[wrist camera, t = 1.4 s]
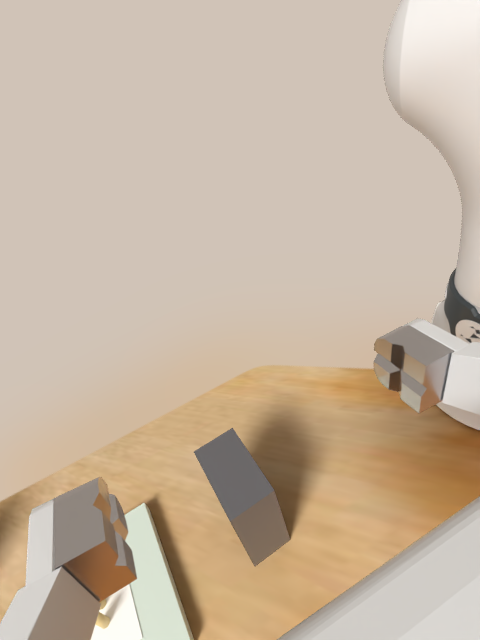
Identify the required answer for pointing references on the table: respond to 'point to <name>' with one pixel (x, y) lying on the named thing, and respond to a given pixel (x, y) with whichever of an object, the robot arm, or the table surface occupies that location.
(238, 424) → the table surface
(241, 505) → the block
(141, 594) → the pin board
